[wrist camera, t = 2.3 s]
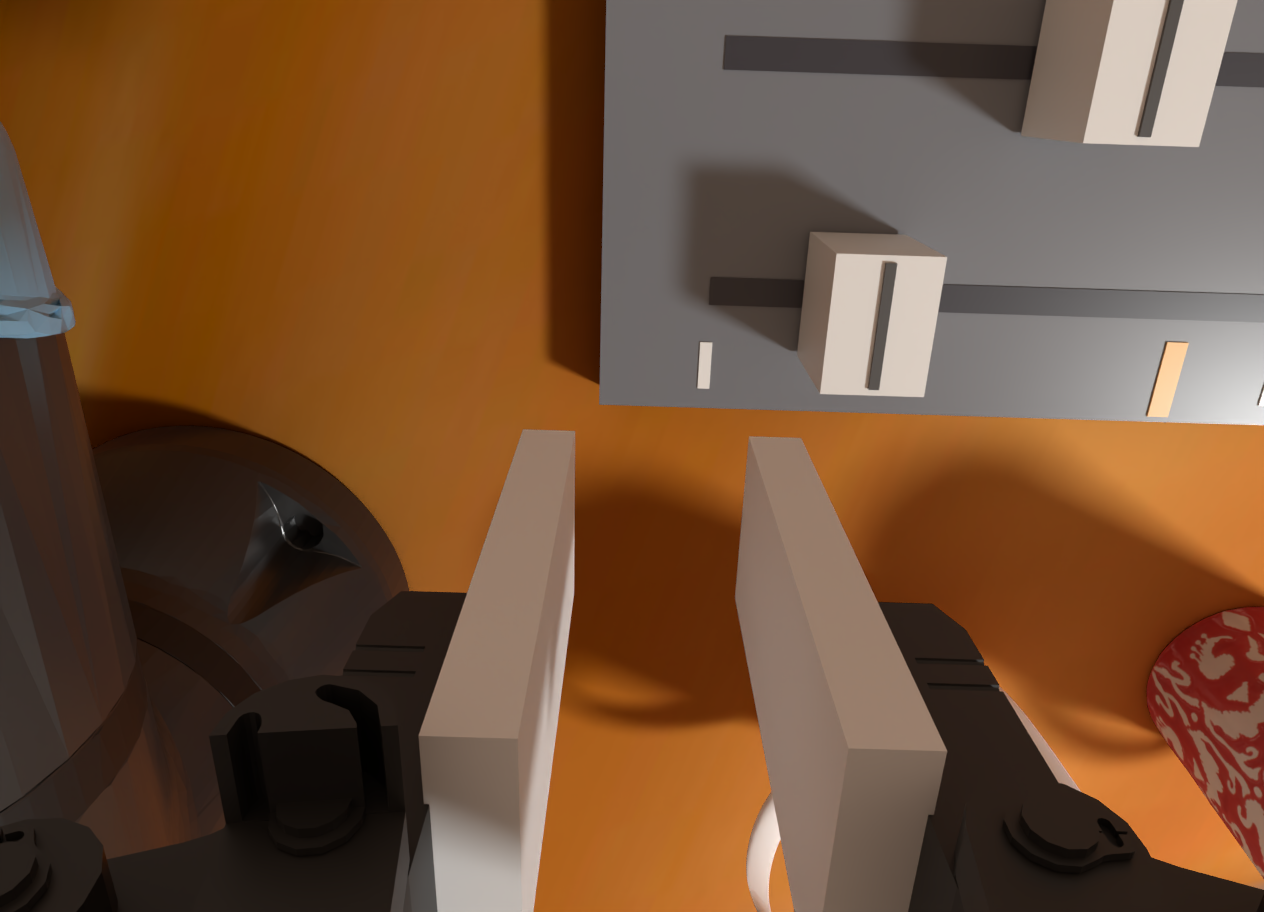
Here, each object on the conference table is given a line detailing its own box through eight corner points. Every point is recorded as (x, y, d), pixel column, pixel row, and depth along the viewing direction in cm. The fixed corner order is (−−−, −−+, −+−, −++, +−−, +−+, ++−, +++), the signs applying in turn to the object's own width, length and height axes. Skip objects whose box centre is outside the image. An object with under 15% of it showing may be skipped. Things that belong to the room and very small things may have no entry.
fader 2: (1020, 135, 26) (1085, 143, 23) (1048, -15, 25) (1123, -34, 21) (1120, 138, 26) (1201, 147, 23) (1155, -11, 25) (1247, -30, 21)
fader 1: (796, 355, 29) (820, 395, 25) (809, 231, 27) (837, 254, 24) (887, 358, 29) (924, 398, 25) (905, 234, 27) (948, 257, 24)
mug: (924, 548, 34) (1068, 776, 23) (1025, 694, 37) (1195, 956, 26) (678, 694, 37) (704, 960, 26) (790, 819, 40) (856, 1105, 29)
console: (601, 386, 32) (599, 405, 30) (610, -98, 26) (608, -112, 24) (1317, 408, 32) (1360, 428, 30) (1483, -67, 26) (1549, -80, 24)
